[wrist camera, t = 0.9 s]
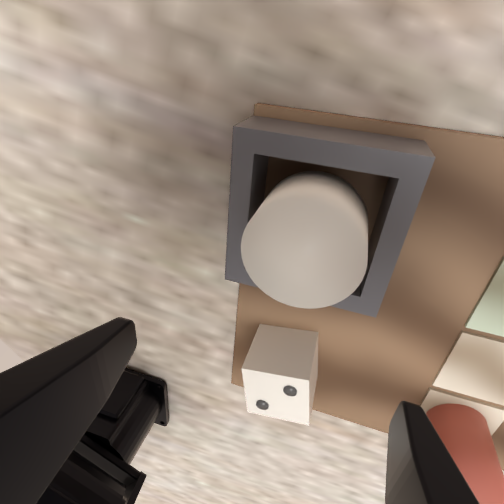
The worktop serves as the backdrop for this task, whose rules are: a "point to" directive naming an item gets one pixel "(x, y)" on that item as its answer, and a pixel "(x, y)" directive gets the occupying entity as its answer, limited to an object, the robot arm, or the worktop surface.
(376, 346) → the board
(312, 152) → the frame
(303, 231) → the dome
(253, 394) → the die
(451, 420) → the red cylinder
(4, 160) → the worktop surface
